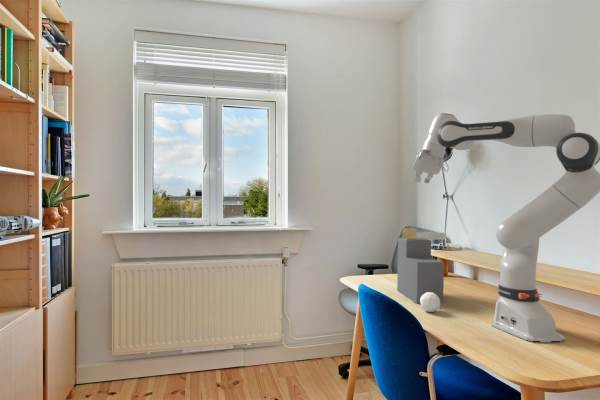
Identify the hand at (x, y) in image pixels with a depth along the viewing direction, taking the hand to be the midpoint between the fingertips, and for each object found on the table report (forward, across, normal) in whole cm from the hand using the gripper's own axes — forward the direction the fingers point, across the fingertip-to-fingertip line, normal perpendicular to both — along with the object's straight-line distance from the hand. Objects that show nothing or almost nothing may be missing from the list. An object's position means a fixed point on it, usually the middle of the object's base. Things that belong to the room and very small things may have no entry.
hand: (421, 182), depth 156 cm
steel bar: (+27, +18, -3) cm, 32 cm away
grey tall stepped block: (+51, +10, -13) cm, 54 cm away
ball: (+47, -7, -25) cm, 54 cm away
